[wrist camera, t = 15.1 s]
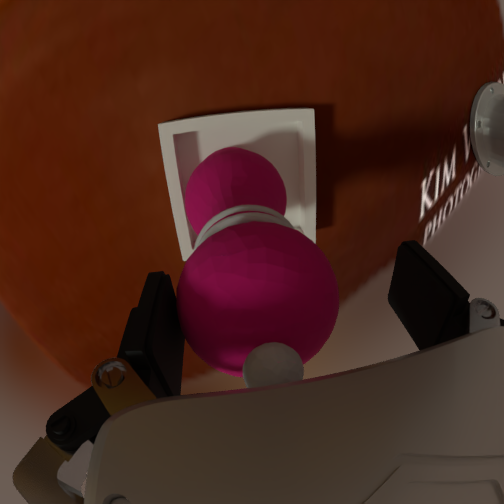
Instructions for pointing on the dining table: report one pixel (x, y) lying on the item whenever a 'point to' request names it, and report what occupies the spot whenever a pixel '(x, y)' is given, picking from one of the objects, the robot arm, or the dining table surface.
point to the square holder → (252, 139)
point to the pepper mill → (251, 274)
